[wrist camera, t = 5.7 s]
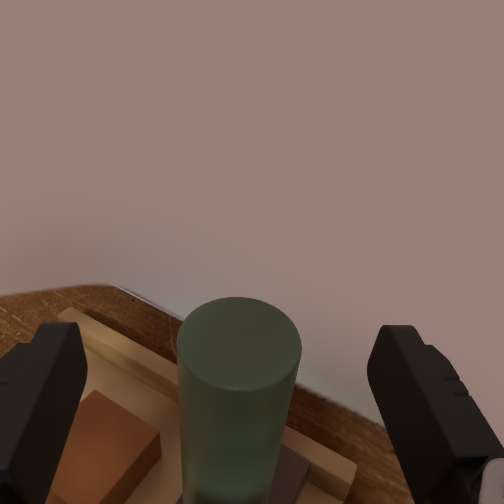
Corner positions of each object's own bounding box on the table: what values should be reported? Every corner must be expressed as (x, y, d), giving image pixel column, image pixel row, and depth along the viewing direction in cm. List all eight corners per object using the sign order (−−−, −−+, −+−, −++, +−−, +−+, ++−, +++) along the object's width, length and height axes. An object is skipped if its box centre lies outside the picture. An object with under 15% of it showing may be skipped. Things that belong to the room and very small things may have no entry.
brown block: (162, 455, 18) (160, 430, 17) (94, 542, 15) (85, 519, 14) (100, 413, 19) (94, 388, 18) (26, 485, 16) (14, 460, 15)
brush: (299, 500, 17) (369, 279, 10) (203, 727, 11) (215, 581, 5) (229, 456, 18) (249, 235, 11) (114, 641, 13) (21, 430, 6)
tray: (345, 493, 18) (358, 464, 17) (214, 885, 10) (217, 896, 8) (77, 335, 25) (70, 305, 23) (-135, 492, 17) (-166, 461, 15)
